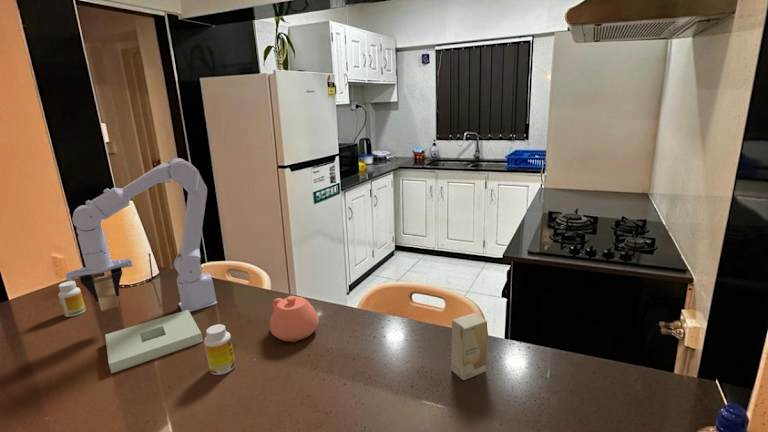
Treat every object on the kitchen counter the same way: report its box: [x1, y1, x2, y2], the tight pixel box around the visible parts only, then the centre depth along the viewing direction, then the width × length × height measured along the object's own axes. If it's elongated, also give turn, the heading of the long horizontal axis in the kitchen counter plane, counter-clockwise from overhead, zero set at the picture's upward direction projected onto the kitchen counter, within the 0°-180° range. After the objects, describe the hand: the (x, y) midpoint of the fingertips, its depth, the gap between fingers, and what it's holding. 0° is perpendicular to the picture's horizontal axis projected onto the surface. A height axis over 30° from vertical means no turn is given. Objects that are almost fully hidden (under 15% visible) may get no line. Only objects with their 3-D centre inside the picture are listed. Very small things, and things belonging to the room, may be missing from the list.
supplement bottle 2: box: [203, 323, 236, 376], centre depth 94 cm, size 6×6×10 cm
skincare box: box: [450, 312, 488, 381], centre depth 88 cm, size 6×4×12 cm
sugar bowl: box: [269, 295, 320, 343], centre depth 107 cm, size 12×14×10 cm
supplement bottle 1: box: [58, 280, 87, 318], centre depth 124 cm, size 5×5×10 cm
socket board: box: [104, 310, 204, 374], centre depth 107 cm, size 20×16×2 cm
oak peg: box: [93, 274, 120, 311], centre depth 112 cm, size 4×4×8 cm
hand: (107, 297), depth 113 cm, fingers closed on oak peg, 4 cm apart
